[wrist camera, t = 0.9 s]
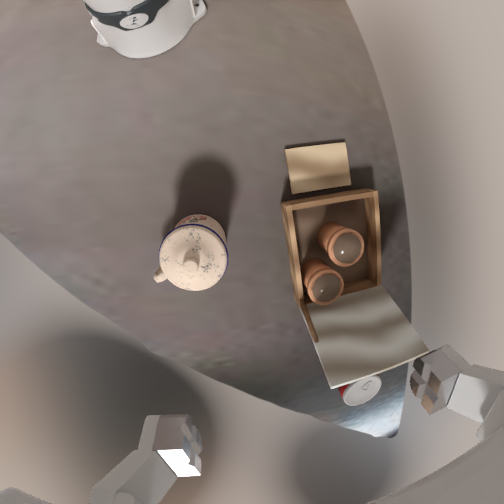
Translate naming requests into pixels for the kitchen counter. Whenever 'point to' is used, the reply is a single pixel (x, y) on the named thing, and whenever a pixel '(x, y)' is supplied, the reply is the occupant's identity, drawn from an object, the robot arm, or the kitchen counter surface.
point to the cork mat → (317, 167)
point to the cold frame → (349, 291)
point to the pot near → (341, 243)
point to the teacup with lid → (193, 254)
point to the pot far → (321, 281)
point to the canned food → (360, 390)
